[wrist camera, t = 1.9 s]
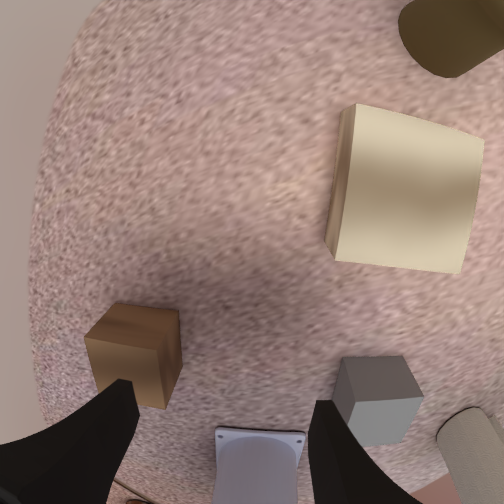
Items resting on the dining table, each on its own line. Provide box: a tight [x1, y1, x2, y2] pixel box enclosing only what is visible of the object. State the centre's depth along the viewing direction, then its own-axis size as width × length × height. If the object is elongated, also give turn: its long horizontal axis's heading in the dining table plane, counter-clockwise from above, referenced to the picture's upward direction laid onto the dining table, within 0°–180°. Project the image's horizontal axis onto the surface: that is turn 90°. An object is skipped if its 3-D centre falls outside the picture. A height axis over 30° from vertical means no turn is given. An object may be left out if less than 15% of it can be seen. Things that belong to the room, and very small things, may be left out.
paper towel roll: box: [437, 407, 504, 504], centre depth 14 cm, size 7×6×21 cm
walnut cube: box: [84, 303, 183, 410], centre depth 20 cm, size 5×5×5 cm
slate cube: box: [332, 356, 424, 447], centre depth 21 cm, size 5×5×5 cm
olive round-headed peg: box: [398, 0, 504, 78], centre depth 9 cm, size 6×6×11 cm
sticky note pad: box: [324, 103, 484, 274], centre depth 17 cm, size 8×8×4 cm
